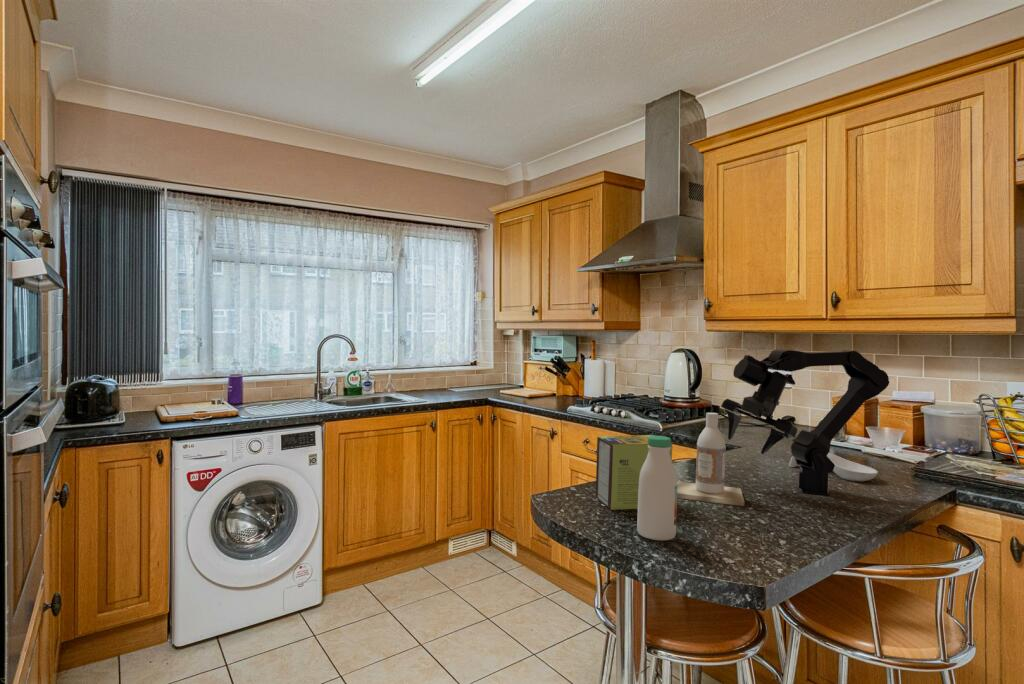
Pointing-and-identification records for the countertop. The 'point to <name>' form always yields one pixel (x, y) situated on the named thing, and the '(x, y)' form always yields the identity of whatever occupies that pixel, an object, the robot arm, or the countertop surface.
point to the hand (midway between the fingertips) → (745, 446)
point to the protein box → (620, 469)
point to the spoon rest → (847, 469)
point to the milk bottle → (657, 492)
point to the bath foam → (710, 458)
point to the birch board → (726, 497)
